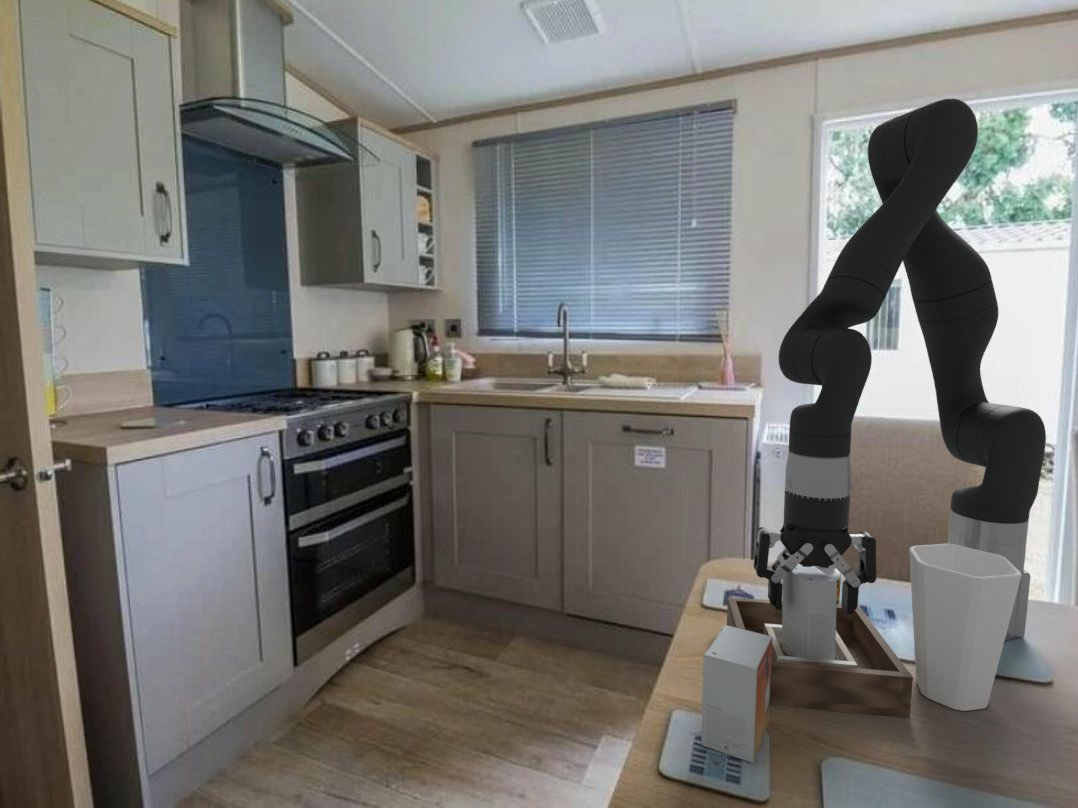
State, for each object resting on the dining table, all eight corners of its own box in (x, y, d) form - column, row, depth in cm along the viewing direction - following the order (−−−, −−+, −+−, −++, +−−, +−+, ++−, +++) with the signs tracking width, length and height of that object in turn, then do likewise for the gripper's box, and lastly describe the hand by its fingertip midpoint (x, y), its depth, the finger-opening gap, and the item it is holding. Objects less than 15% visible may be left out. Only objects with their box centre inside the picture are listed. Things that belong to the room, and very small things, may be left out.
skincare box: (836, 672, 78) (841, 581, 77) (803, 675, 78) (808, 583, 76) (808, 647, 84) (813, 562, 83) (777, 649, 84) (781, 564, 82)
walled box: (857, 639, 88) (859, 606, 88) (909, 718, 71) (913, 677, 70) (726, 629, 91) (727, 597, 91) (746, 702, 74) (747, 663, 73)
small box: (753, 765, 63) (757, 669, 62) (699, 746, 66) (702, 654, 65) (770, 722, 70) (774, 635, 69) (720, 706, 73) (723, 622, 72)
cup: (1018, 730, 68) (1033, 584, 66) (913, 711, 72) (924, 571, 70) (985, 676, 79) (997, 548, 76) (894, 662, 82) (904, 538, 80)
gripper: (867, 481, 80) (860, 600, 82) (752, 478, 82) (749, 593, 85) (889, 497, 73) (881, 627, 75) (763, 493, 75) (759, 619, 77)
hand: (811, 609), depth 80 cm, fingers open, 8 cm apart
